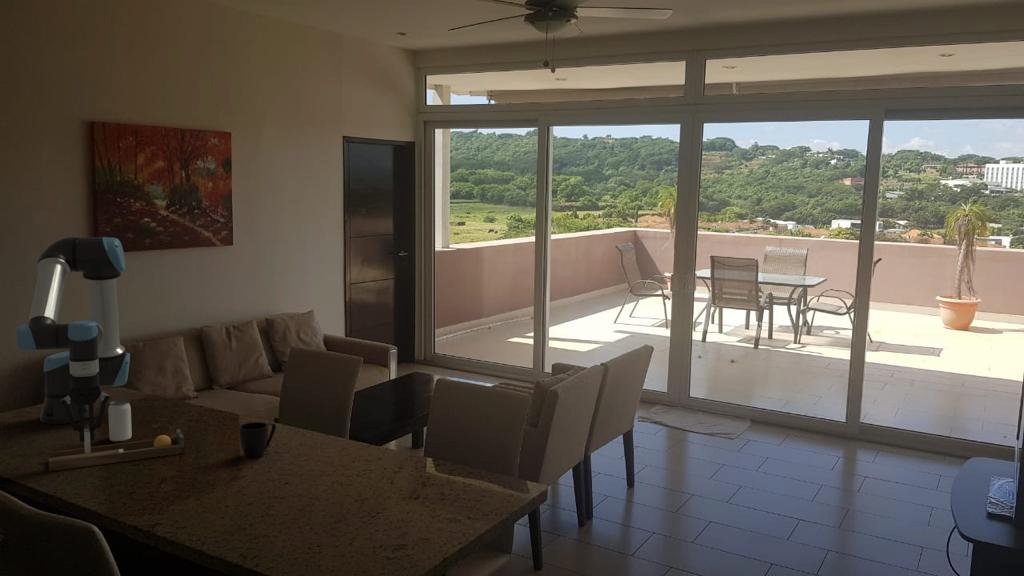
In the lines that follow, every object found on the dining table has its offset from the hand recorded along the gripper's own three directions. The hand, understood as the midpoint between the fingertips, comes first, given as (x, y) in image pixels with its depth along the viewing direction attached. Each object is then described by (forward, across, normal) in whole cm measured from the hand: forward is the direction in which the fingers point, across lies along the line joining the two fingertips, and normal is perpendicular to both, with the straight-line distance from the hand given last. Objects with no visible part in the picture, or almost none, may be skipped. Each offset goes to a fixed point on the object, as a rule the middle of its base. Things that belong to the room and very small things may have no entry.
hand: (87, 451), depth 232 cm
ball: (0, +20, -1) cm, 20 cm away
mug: (+3, +46, -16) cm, 49 cm away
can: (+3, +10, +19) cm, 22 cm away
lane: (+3, +8, 0) cm, 8 cm away
